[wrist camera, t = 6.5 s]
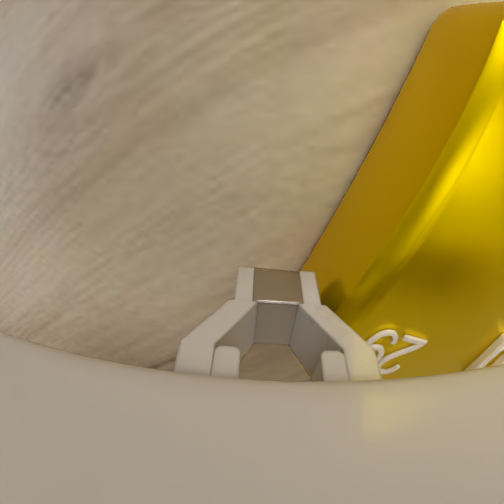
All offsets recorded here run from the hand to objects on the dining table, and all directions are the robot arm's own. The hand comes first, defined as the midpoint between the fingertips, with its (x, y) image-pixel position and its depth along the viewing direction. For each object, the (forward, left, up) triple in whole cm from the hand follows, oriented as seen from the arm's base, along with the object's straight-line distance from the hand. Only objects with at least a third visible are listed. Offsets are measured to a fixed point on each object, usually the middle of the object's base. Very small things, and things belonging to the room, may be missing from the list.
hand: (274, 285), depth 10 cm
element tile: (-2, +10, -3) cm, 11 cm away
